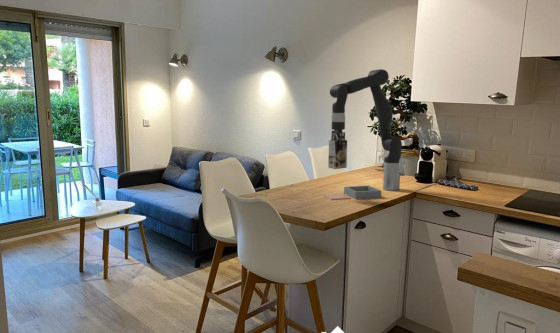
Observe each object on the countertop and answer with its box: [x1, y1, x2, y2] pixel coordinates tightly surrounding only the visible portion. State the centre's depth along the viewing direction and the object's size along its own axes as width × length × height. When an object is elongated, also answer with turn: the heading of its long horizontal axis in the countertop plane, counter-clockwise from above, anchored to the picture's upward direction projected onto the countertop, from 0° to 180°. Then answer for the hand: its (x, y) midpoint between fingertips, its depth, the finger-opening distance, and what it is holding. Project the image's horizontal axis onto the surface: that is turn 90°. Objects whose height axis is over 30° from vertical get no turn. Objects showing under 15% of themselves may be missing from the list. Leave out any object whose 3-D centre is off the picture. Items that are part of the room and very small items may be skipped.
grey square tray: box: [343, 185, 382, 200], centre depth 245 cm, size 16×16×4 cm
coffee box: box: [327, 139, 348, 170], centre depth 237 cm, size 9×6×16 cm
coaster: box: [322, 192, 352, 201], centre depth 241 cm, size 12×12×1 cm
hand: (337, 149), depth 237 cm, fingers closed on coffee box, 8 cm apart
